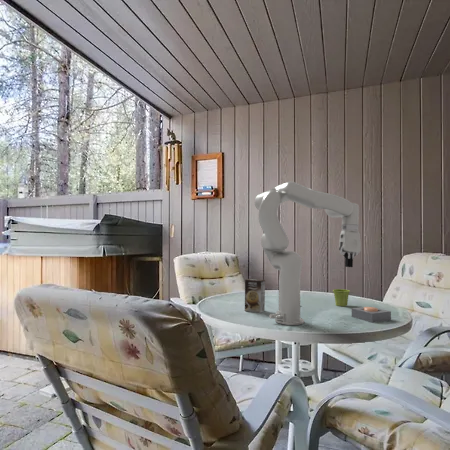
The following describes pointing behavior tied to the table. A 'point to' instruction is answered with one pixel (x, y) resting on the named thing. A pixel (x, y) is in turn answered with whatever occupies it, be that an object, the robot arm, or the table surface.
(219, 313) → the table surface
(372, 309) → the push button
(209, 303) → the table surface
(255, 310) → the coffee box
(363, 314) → the button box
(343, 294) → the plant pot
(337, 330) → the table surface
